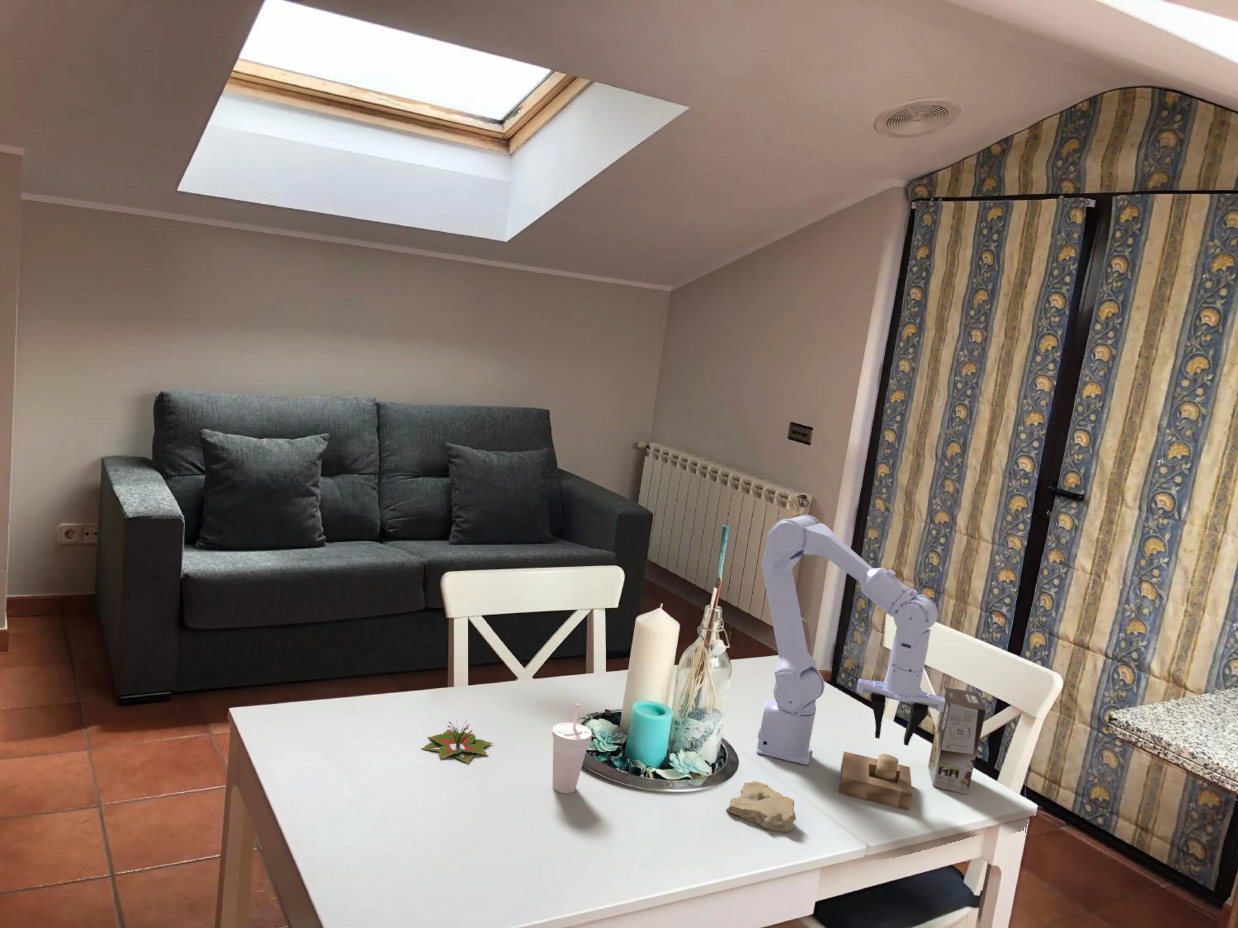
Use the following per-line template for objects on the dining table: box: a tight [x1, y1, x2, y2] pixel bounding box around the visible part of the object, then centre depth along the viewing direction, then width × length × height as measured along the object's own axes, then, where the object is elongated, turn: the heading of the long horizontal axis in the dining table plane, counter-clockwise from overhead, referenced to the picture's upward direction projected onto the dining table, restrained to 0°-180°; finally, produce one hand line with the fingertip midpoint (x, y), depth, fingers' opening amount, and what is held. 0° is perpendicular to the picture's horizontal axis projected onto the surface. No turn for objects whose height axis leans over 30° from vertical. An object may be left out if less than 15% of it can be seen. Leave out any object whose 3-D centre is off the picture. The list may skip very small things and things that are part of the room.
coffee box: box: [927, 686, 987, 795], centre depth 179 cm, size 9×6×16 cm
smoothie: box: [551, 702, 593, 794], centre depth 155 cm, size 6×6×14 cm
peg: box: [875, 753, 899, 783], centre depth 171 cm, size 4×4×6 cm
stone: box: [725, 780, 797, 833], centre depth 157 cm, size 13×4×10 cm
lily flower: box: [420, 719, 494, 764], centre depth 165 cm, size 12×12×5 cm
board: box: [838, 751, 913, 811], centre depth 172 cm, size 12×11×3 cm
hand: (891, 739), depth 171 cm, fingers open, 4 cm apart
